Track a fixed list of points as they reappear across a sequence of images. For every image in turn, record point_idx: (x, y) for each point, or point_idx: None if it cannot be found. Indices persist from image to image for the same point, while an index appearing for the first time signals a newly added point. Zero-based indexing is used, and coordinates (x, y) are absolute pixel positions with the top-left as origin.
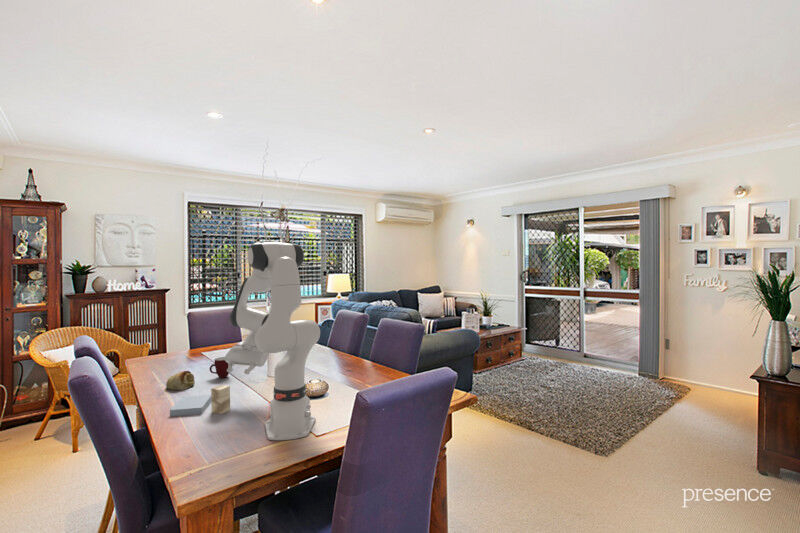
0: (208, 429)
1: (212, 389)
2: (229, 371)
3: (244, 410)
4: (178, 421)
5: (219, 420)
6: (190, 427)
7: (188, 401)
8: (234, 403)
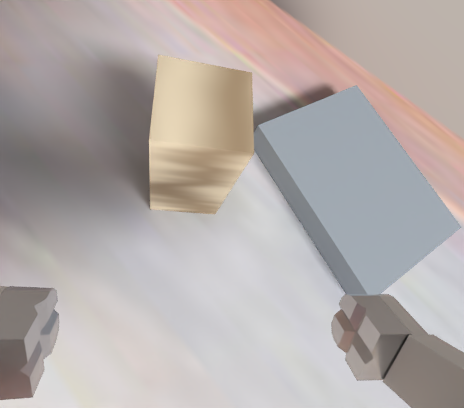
0: (92, 14)
1: (238, 75)
2: (345, 301)
3: (54, 218)
4: (270, 66)
5: (109, 89)
6: (180, 27)
7: (382, 179)
8: (194, 298)
